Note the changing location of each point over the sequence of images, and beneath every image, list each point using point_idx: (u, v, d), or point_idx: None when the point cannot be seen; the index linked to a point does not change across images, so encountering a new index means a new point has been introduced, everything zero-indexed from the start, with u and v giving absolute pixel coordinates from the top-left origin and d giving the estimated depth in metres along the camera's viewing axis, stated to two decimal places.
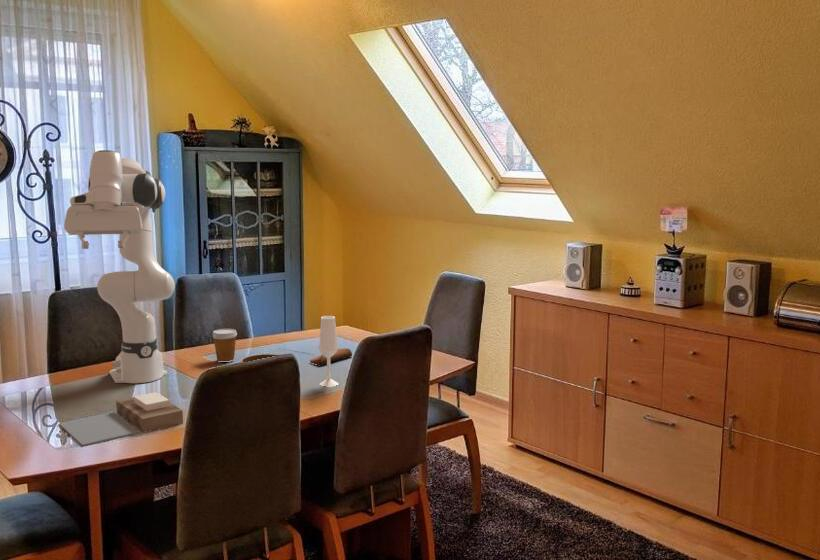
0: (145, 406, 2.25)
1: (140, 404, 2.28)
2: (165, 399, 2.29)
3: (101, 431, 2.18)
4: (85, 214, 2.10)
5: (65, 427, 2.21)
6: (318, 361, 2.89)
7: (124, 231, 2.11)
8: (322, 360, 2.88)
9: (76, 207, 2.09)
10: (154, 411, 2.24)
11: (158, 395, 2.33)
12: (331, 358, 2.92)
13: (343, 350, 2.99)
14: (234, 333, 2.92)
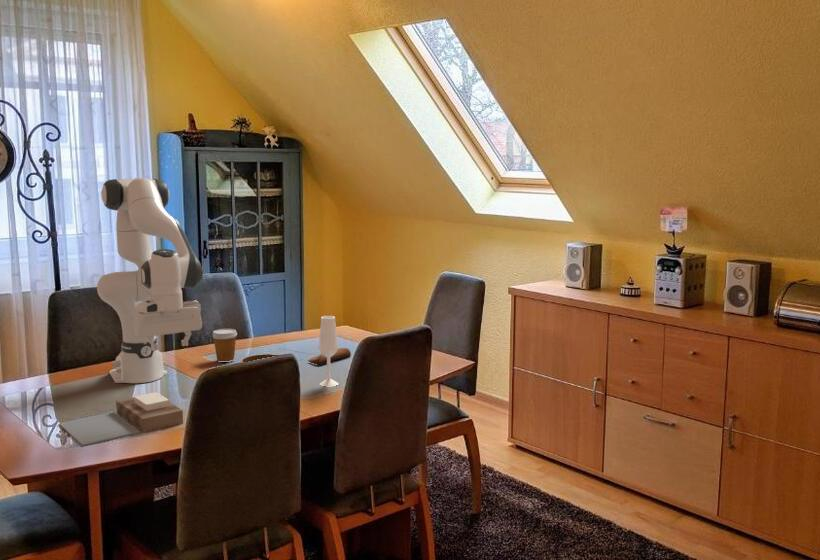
0: (145, 406, 2.25)
1: (140, 404, 2.28)
2: (165, 399, 2.29)
3: (101, 431, 2.18)
4: (154, 319, 2.25)
5: (65, 427, 2.21)
6: (317, 361, 2.89)
7: (188, 332, 2.33)
8: (321, 360, 2.89)
9: (148, 315, 2.23)
10: (154, 411, 2.24)
11: (158, 395, 2.33)
12: (330, 358, 2.92)
13: (342, 350, 2.99)
14: (234, 333, 2.92)
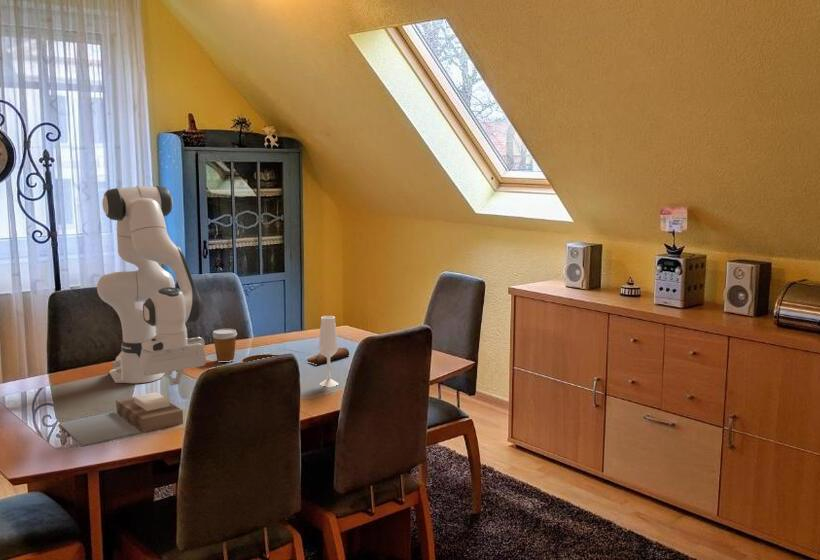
0: (145, 406, 2.25)
1: (140, 404, 2.28)
2: (165, 399, 2.29)
3: (101, 431, 2.18)
4: (160, 357, 2.29)
5: (65, 427, 2.21)
6: (315, 360, 2.90)
7: (180, 370, 2.34)
8: (319, 359, 2.90)
9: (154, 354, 2.26)
10: (154, 411, 2.24)
11: (158, 395, 2.33)
12: None
13: (341, 350, 3.00)
14: (234, 333, 2.92)
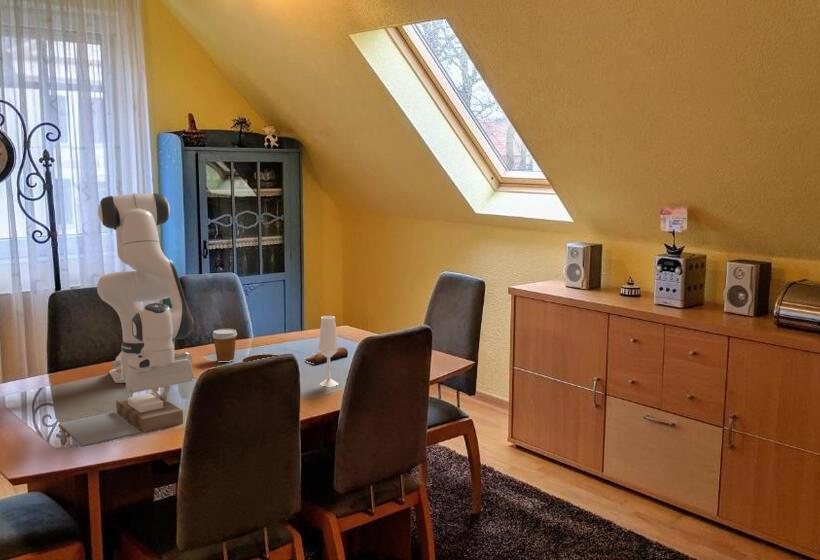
0: (139, 407, 2.24)
1: (133, 405, 2.27)
2: (159, 400, 2.28)
3: (101, 431, 2.18)
4: (146, 374, 2.27)
5: (65, 427, 2.21)
6: (313, 360, 2.90)
7: (167, 386, 2.32)
8: (317, 358, 2.90)
9: (140, 371, 2.24)
10: (154, 411, 2.24)
11: (152, 396, 2.32)
12: (326, 357, 2.94)
13: (339, 349, 3.00)
14: (234, 333, 2.92)
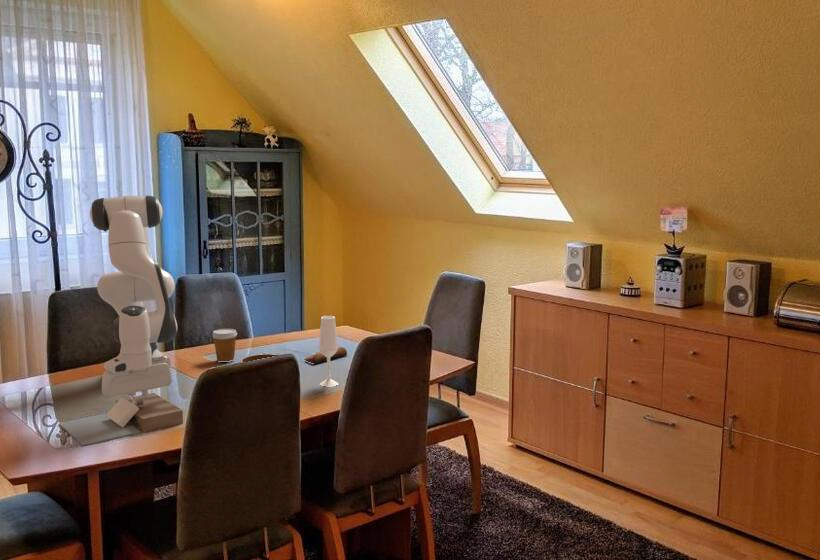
0: (118, 424, 2.21)
1: None
2: (131, 405, 2.23)
3: (101, 431, 2.18)
4: (123, 378, 2.22)
5: (65, 427, 2.21)
6: (312, 359, 2.91)
7: (144, 391, 2.27)
8: (316, 358, 2.91)
9: (116, 375, 2.20)
10: (154, 411, 2.24)
11: (124, 401, 2.26)
12: None
13: (338, 349, 3.01)
14: (234, 333, 2.92)
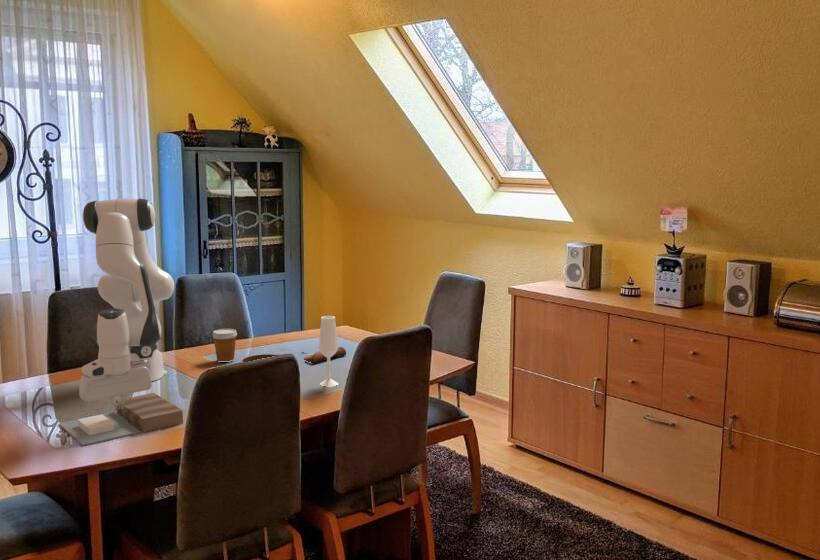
0: None
1: None
2: None
3: None
4: (101, 382, 2.18)
5: (65, 427, 2.21)
6: (311, 359, 2.91)
7: (123, 395, 2.23)
8: (315, 358, 2.91)
9: (94, 379, 2.16)
10: (154, 411, 2.24)
11: None
12: (324, 356, 2.94)
13: None
14: (234, 333, 2.92)
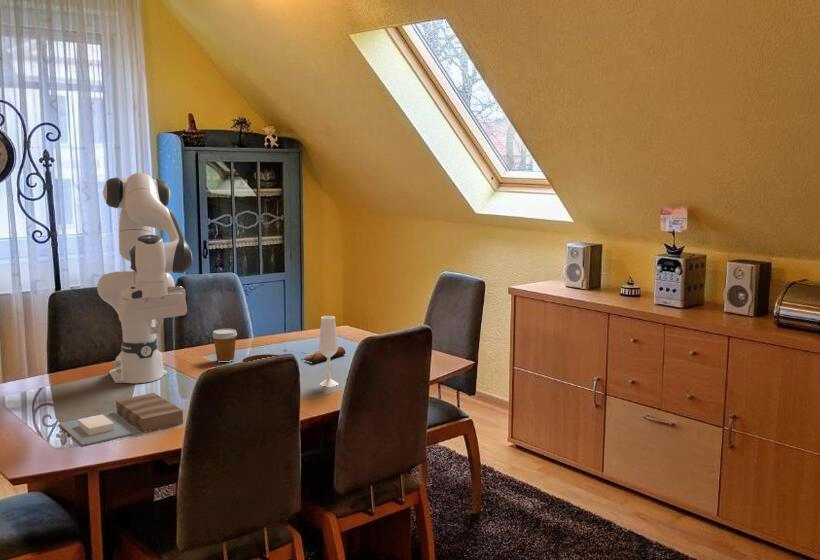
0: None
1: None
2: None
3: None
4: (139, 305, 2.26)
5: (65, 427, 2.21)
6: (311, 359, 2.91)
7: (160, 319, 2.31)
8: (315, 358, 2.91)
9: (133, 302, 2.23)
10: (154, 411, 2.24)
11: None
12: (324, 356, 2.95)
13: None
14: (234, 333, 2.92)
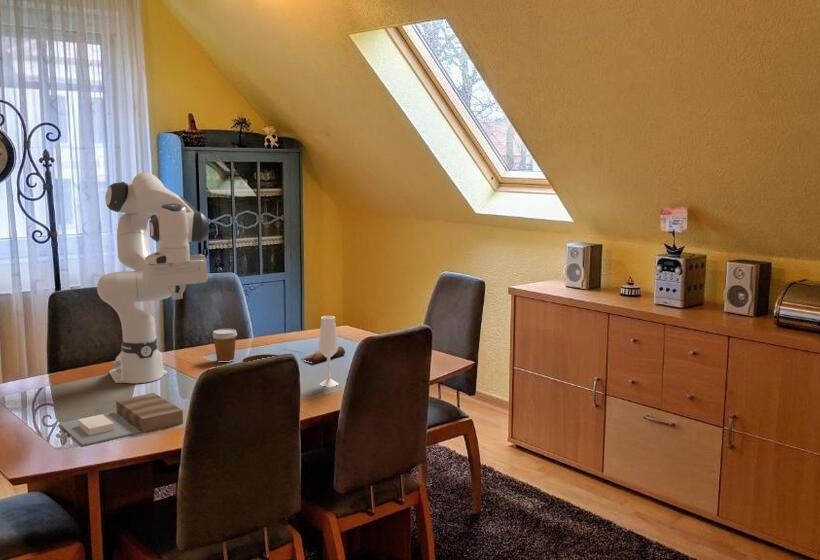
0: None
1: None
2: None
3: None
4: (163, 271, 2.34)
5: (65, 427, 2.21)
6: (311, 359, 2.92)
7: (183, 285, 2.40)
8: (315, 358, 2.91)
9: (157, 267, 2.32)
10: (154, 411, 2.24)
11: None
12: (324, 356, 2.95)
13: None
14: (234, 333, 2.92)
